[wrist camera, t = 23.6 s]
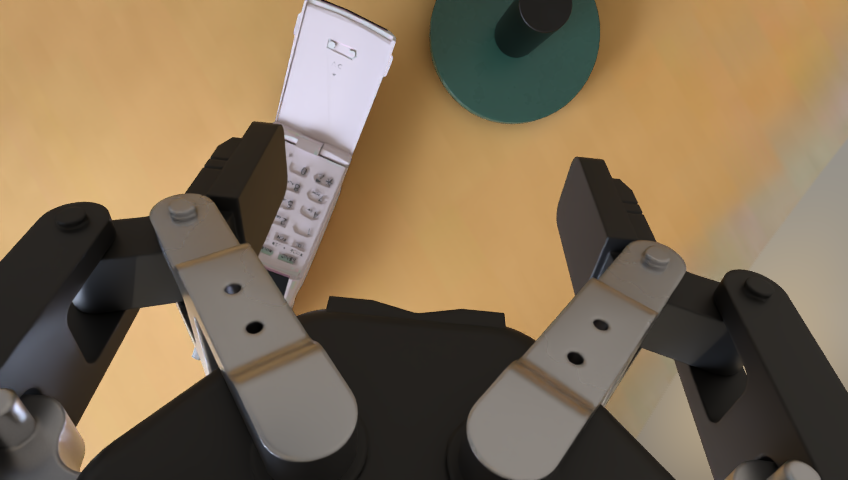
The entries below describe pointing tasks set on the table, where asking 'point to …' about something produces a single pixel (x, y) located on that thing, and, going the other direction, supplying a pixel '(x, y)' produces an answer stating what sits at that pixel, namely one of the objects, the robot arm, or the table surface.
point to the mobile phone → (321, 129)
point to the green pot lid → (514, 54)
